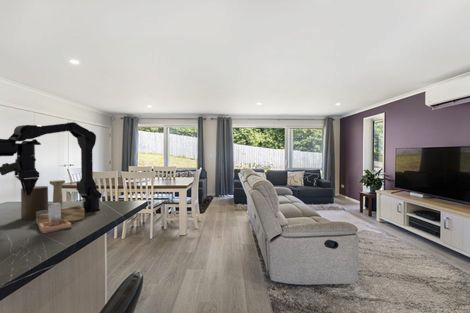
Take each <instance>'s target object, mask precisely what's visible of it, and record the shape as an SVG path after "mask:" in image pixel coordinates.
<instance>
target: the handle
mask: <svg viewBox="0 0 470 313" xmlns="http://www.w3.org/2000/svg"><path fill="white" fill-rule="evenodd" d="M65 183H66V180H64V179H62V180H61V179H57V180H55V179H54V180H49V185H51V186H52V188H53V191H52V192H53V193H52V203H61V208H63V189H62V186H63V185H64V184H65Z"/></svg>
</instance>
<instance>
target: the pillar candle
mask: <svg viewBox="0 0 470 313" xmlns="http://www.w3.org/2000/svg"><path fill="white" fill-rule="evenodd" d="M20 200H21V201H20V205H21V206H20V207H21V208H20V209H21V210H20V212H21V214H20V216H21V220H27V221H28V220H29V221H30V220H31V221H32V220H36V211H42V210H48V204H49V187H48V185H39V186H38V185H35V186H34V188H33V190H32V192H31V194H30V195H29V196H27V195H26V193H24V192H23V189H22V187H21V188H20Z"/></svg>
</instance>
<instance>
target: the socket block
mask: <svg viewBox="0 0 470 313" xmlns="http://www.w3.org/2000/svg"><path fill="white" fill-rule="evenodd" d="M63 219H66V220H68V221H69V222H73V221H79V220H85V211H84V208H82V206H80V205H78V206H77V205H76V206H69V207H62V208H61V220H63ZM35 222H36V224H37V225H38V226H39V223H45V222H49V220H48V214H41V215H39V218H38V219H37V218H36V219H35Z"/></svg>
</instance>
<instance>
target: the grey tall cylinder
mask: <svg viewBox="0 0 470 313" xmlns="http://www.w3.org/2000/svg"><path fill="white" fill-rule="evenodd" d="M48 220H49V227H51V226H56V225H61V203H53V202H51V203H48Z"/></svg>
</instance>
